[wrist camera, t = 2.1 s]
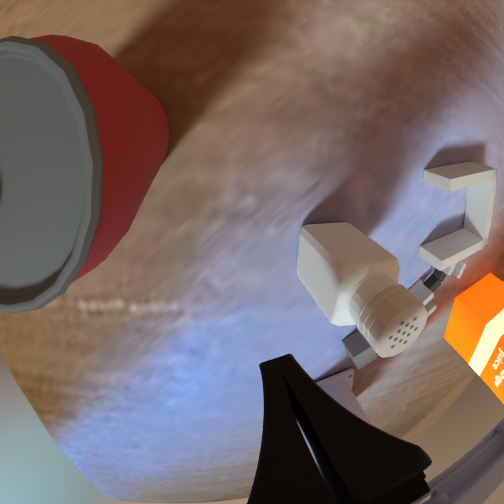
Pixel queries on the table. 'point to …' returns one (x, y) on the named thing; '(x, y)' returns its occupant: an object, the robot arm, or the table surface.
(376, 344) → the pepper shaker
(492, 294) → the orange juice
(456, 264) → the clips
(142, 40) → the table surface
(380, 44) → the table surface
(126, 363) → the table surface
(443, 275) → the cable route
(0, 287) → the beer can
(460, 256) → the end holder
